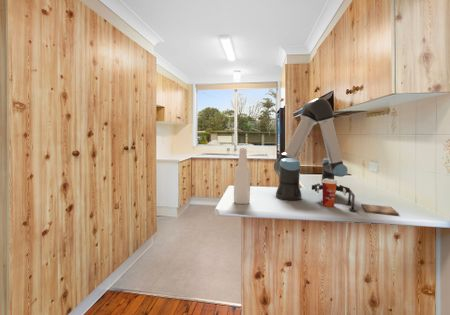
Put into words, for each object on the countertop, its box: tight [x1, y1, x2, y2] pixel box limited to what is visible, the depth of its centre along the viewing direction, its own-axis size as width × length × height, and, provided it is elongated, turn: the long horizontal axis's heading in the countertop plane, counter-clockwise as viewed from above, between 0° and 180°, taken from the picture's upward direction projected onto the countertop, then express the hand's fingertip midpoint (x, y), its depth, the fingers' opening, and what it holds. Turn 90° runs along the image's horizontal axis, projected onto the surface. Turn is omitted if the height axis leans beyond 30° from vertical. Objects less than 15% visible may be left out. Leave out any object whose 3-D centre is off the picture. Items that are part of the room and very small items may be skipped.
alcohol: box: [233, 147, 251, 205], centre depth 138 cm, size 9×9×30 cm
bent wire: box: [345, 189, 357, 213], centre depth 133 cm, size 3×16×8 cm, turn 160°
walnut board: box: [360, 203, 400, 216], centre depth 129 cm, size 14×13×1 cm
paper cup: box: [321, 179, 338, 208], centre depth 136 cm, size 8×8×14 cm
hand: (331, 191), depth 137 cm, fingers open, 13 cm apart
